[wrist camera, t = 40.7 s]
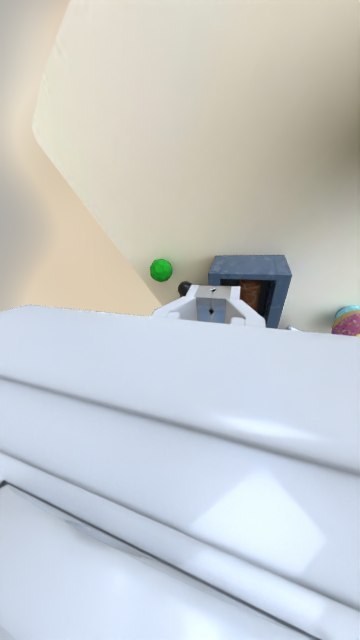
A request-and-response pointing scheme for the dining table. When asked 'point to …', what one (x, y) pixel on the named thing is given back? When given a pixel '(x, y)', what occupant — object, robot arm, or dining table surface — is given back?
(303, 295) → the dining table surface
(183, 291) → the toaster lever
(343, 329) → the cupcake
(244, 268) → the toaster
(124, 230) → the dining table surface
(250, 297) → the bread
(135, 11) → the dining table surface
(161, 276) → the polyhedron
